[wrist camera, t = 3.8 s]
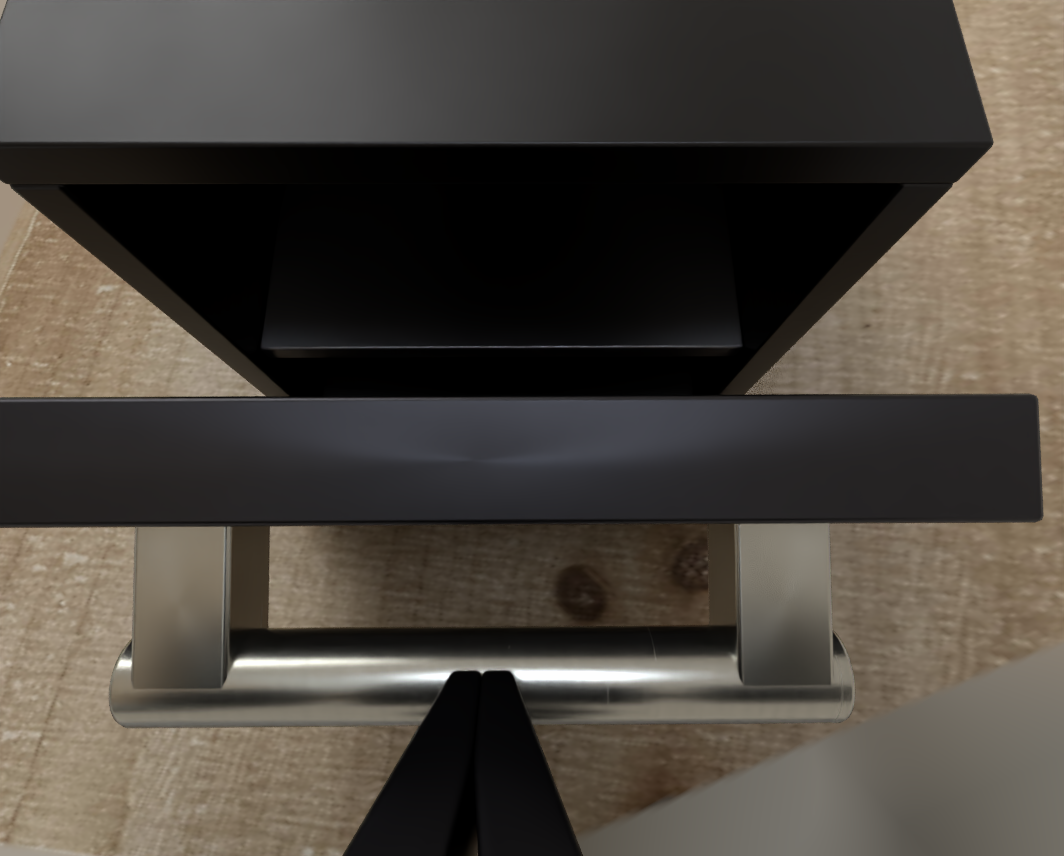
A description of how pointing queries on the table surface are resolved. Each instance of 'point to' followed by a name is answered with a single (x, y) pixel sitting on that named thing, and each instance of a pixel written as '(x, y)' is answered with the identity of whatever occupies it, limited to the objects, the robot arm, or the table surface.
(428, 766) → the robot arm
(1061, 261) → the table surface
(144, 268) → the oven
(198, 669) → the oven door
